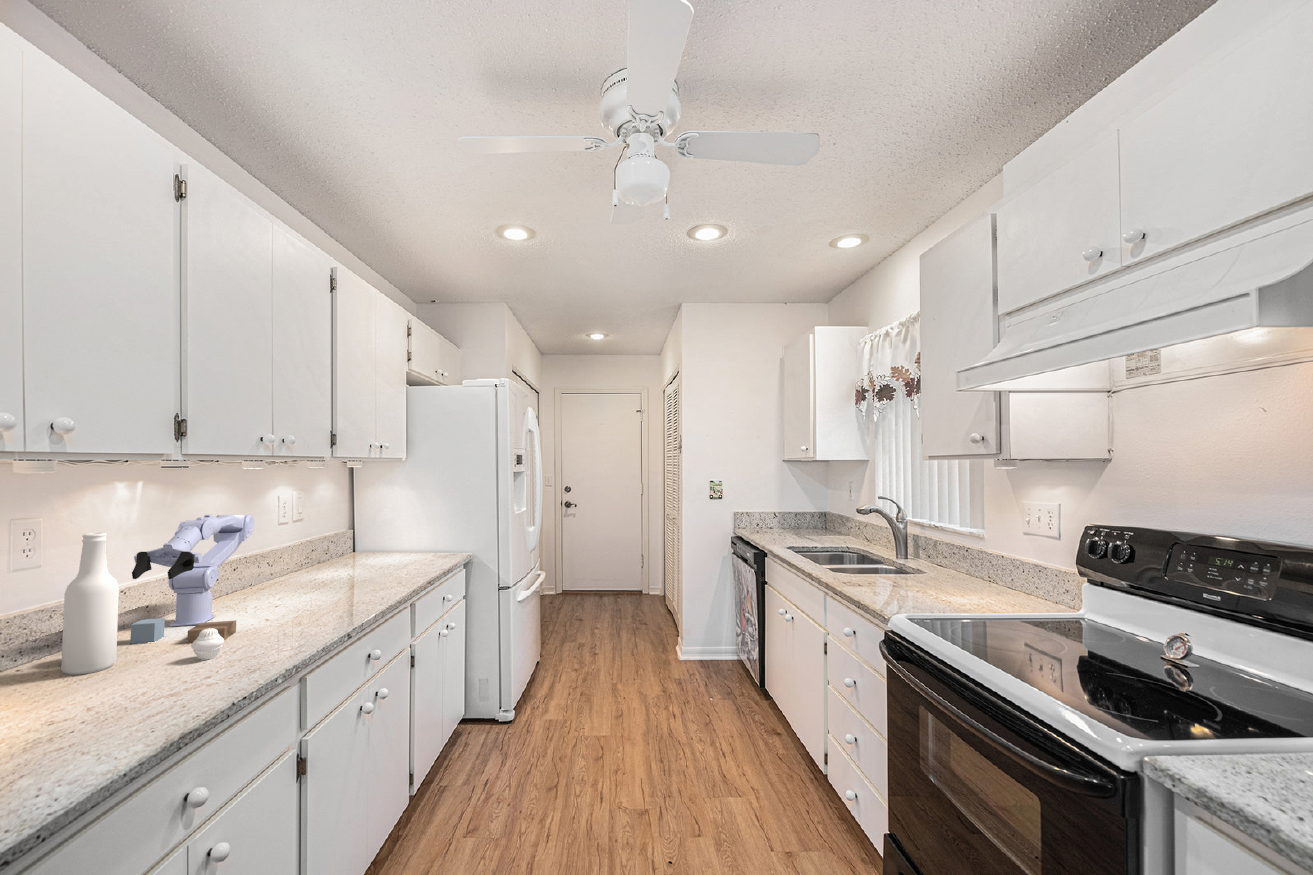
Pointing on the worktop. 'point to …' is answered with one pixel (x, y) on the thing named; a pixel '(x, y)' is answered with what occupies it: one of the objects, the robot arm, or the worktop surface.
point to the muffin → (208, 644)
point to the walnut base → (223, 628)
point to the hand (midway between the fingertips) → (151, 575)
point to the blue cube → (147, 630)
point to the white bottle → (90, 612)
